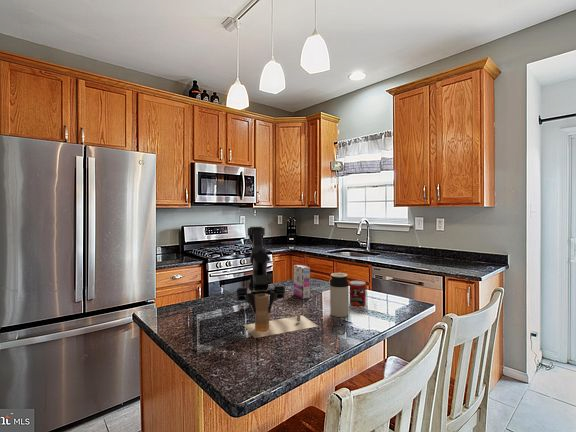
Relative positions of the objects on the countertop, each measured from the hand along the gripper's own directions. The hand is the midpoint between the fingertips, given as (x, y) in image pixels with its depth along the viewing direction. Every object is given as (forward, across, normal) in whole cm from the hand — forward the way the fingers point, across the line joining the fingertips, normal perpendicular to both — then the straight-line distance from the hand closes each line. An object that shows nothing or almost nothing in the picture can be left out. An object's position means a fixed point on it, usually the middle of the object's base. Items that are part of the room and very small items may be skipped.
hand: (262, 313), depth 119 cm
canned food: (-14, +49, +26) cm, 57 cm away
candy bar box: (-28, +25, +40) cm, 55 cm away
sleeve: (+4, 0, +6) cm, 7 cm away
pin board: (+3, +8, +8) cm, 12 cm away
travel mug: (-6, +35, +17) cm, 40 cm away
